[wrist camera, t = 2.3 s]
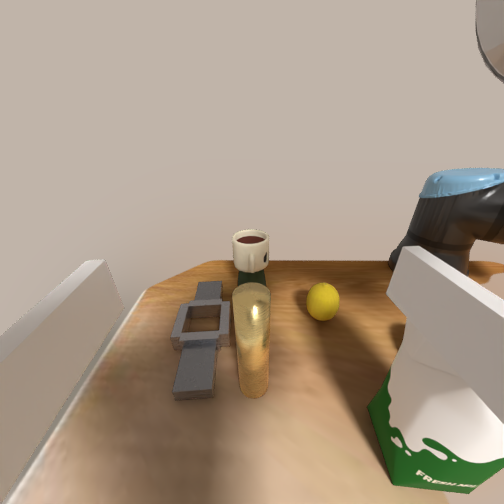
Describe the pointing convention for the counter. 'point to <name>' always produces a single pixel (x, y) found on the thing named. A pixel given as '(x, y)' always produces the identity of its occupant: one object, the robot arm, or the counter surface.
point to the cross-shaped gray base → (200, 342)
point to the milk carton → (434, 423)
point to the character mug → (251, 255)
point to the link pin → (252, 337)
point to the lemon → (322, 301)
